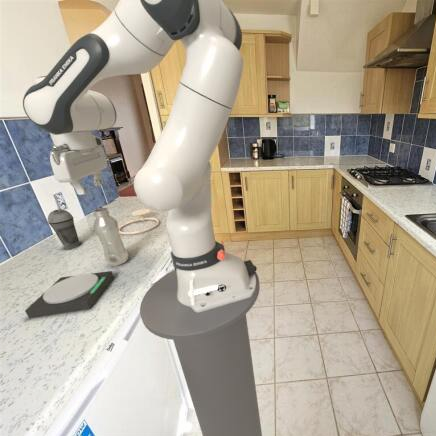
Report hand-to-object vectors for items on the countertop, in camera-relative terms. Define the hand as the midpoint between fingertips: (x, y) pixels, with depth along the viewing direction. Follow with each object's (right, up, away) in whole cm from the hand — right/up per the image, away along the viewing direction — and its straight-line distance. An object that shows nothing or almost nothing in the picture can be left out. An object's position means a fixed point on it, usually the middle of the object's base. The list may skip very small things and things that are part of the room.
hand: (91, 189), depth 74 cm
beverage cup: (-26, -20, +23) cm, 40 cm away
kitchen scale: (-1, -31, -4) cm, 32 cm away
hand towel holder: (-10, -12, +40) cm, 43 cm away
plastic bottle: (+1, -25, +11) cm, 27 cm away
